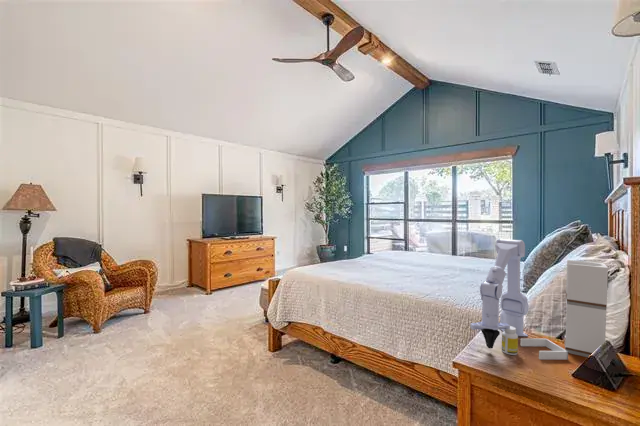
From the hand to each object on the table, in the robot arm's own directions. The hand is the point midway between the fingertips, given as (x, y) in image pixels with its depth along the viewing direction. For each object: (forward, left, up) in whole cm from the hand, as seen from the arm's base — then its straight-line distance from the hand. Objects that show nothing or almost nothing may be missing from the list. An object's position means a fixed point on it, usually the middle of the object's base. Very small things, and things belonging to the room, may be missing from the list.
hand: (489, 347), depth 121 cm
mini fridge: (-1, +38, -2) cm, 38 cm away
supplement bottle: (0, +8, -2) cm, 8 cm away
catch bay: (0, +21, -2) cm, 21 cm away
